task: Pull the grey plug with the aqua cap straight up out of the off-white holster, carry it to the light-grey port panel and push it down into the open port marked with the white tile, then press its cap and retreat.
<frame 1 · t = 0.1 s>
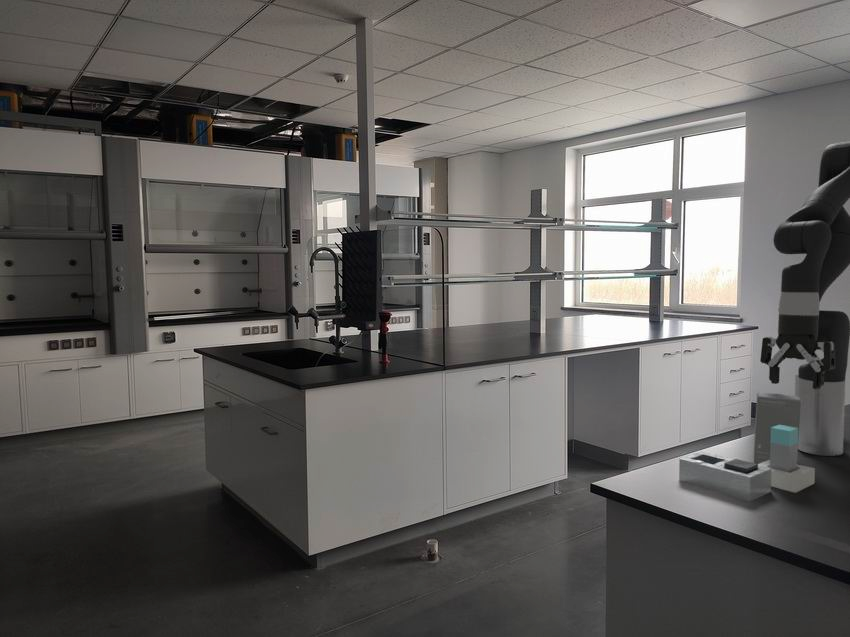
hand: (795, 386, 131), 17 cm above the worktop, tool pointing down, fingers open, 8 cm apart
port panel: (723, 490, 117), on the worktop
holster: (782, 487, 118), on the worktop
skincare box: (775, 466, 131), on the worktop
skincare box 2: (812, 433, 156), on the worktop
plug: (783, 482, 118), point 1 cm above the worktop, touching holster
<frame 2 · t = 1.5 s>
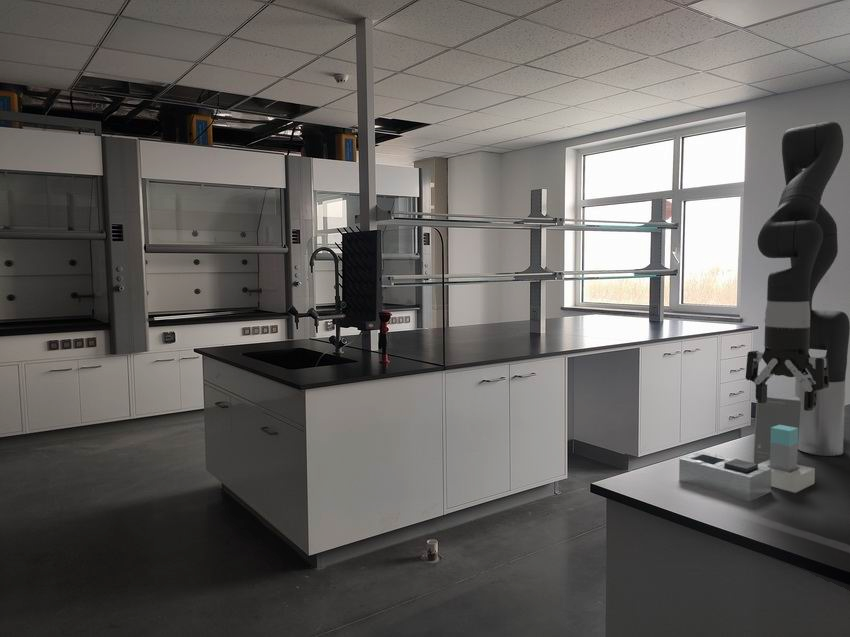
hand: (784, 406, 117), 16 cm above the worktop, tool pointing down, fingers open, 8 cm apart
nothing on the worktop moved.
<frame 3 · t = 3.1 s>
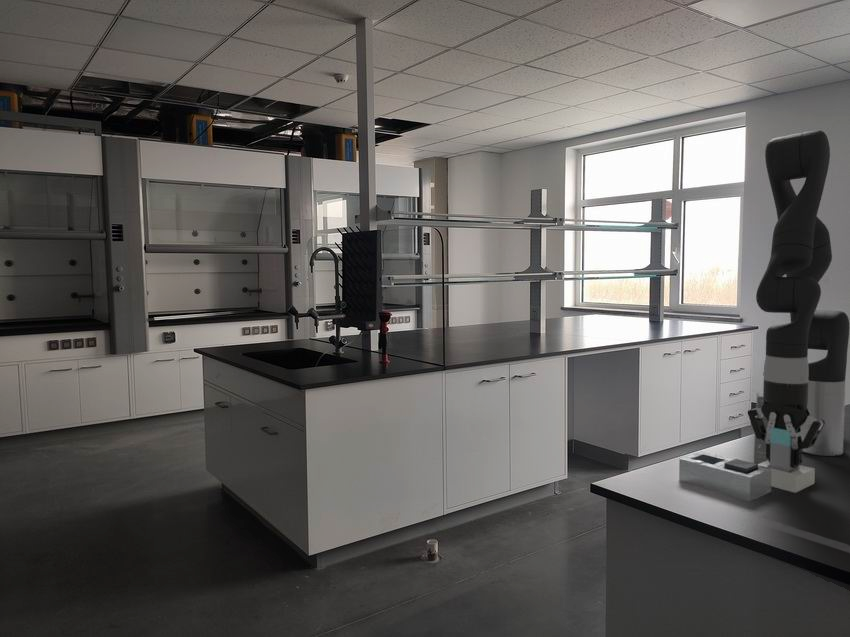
hand: (783, 463, 118), 5 cm above the worktop, tool pointing down, fingers closed on plug, 3 cm apart
plug: (783, 482, 118), point 1 cm above the worktop, touching gripper, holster
everything else where it was.
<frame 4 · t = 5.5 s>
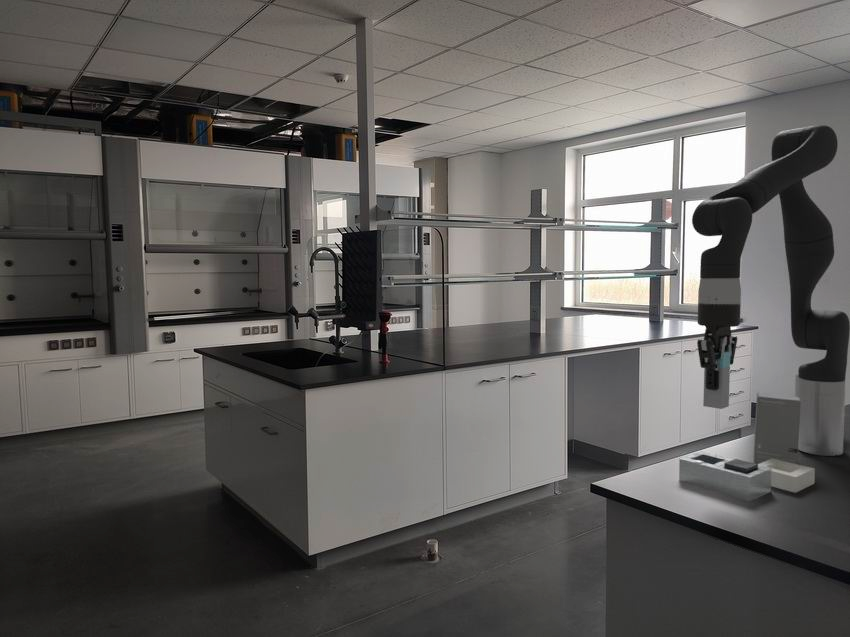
hand: (716, 387, 118), 20 cm above the worktop, tool pointing down, fingers closed on plug, 3 cm apart
plug: (716, 406, 118), point 16 cm above the worktop, touching gripper
everything else where it was.
when the fingers open (6 cm above the worktop, at t = 8.2 s): plug drops 1 cm, resting on port panel.
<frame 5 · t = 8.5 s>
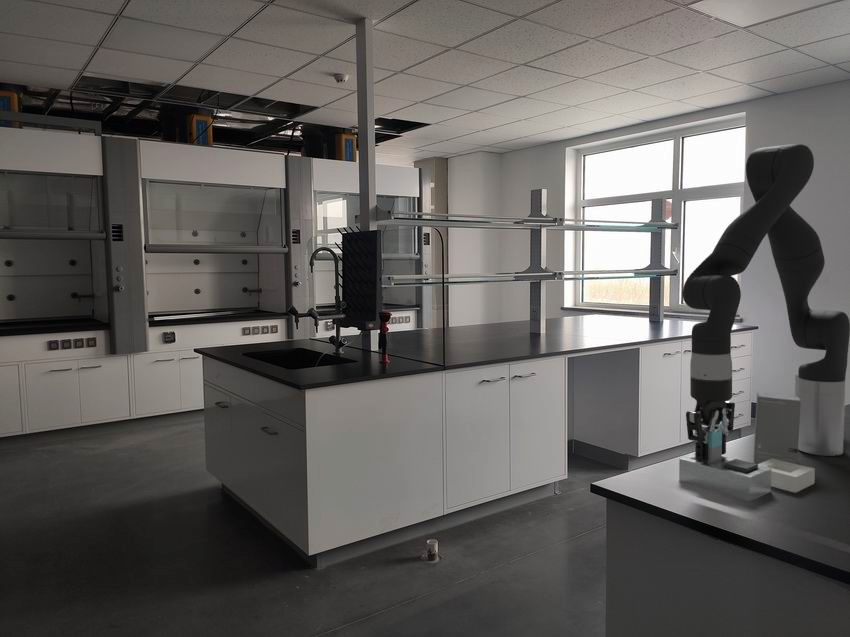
hand: (711, 456, 120), 6 cm above the worktop, tool pointing down, fingers open, 6 cm apart
plug: (707, 483, 120), point 1 cm above the worktop, touching port panel
everything else where it was.
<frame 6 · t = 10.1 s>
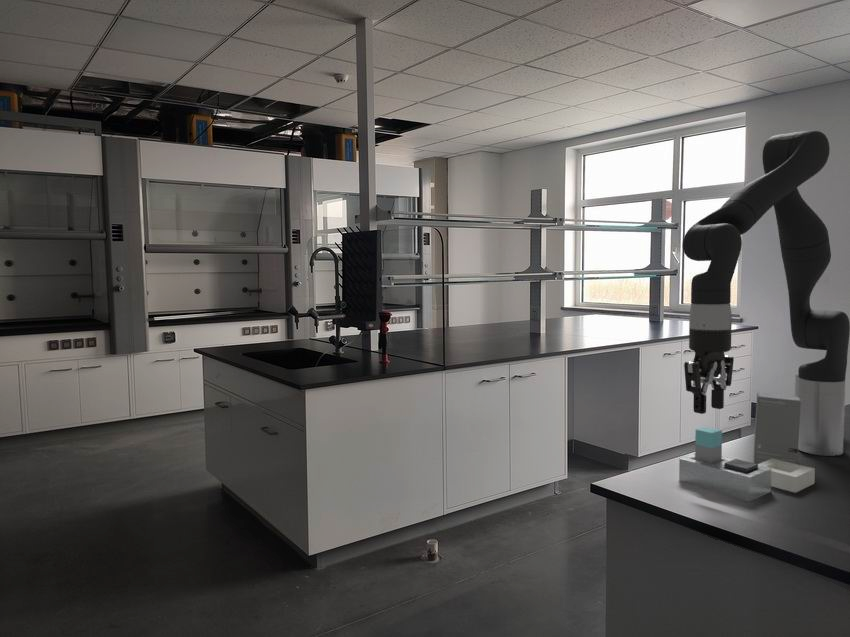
hand: (708, 410, 118), 15 cm above the worktop, tool pointing down, fingers open, 5 cm apart
nothing on the worktop moved.
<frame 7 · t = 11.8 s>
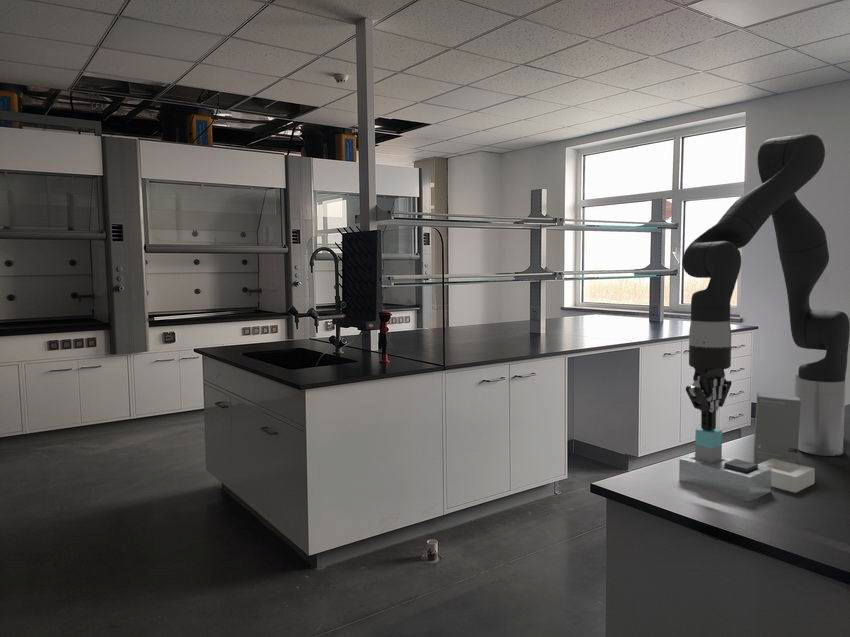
hand: (708, 429, 119), 12 cm above the worktop, tool pointing down, fingers closed
nothing on the worktop moved.
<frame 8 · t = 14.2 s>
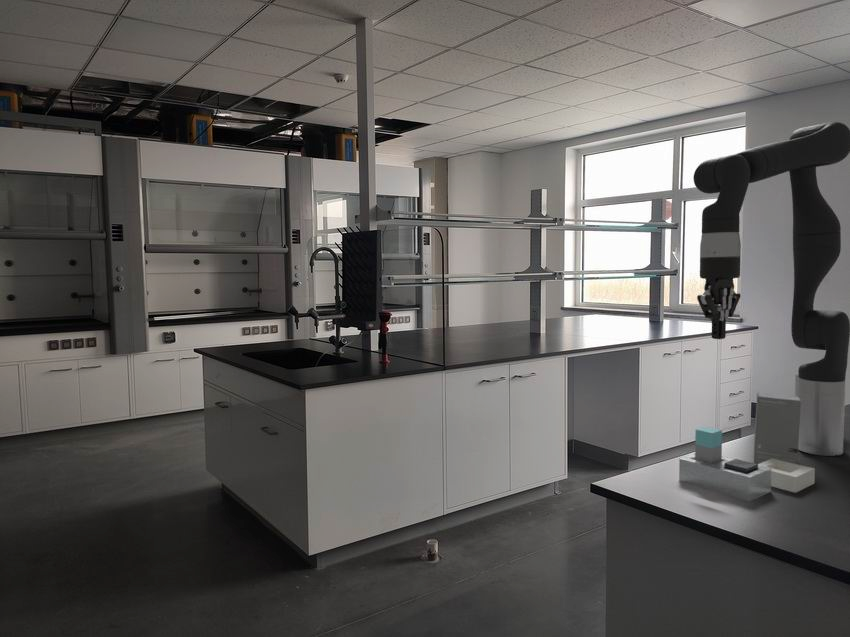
hand: (718, 338, 124), 29 cm above the worktop, tool pointing down, fingers closed
nothing on the worktop moved.
at the end: plug 0.1 cm from the target spot on the port panel, point 0.5 cm above the port panel's base; plug tilted 0°; the gripper is holding nothing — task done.
